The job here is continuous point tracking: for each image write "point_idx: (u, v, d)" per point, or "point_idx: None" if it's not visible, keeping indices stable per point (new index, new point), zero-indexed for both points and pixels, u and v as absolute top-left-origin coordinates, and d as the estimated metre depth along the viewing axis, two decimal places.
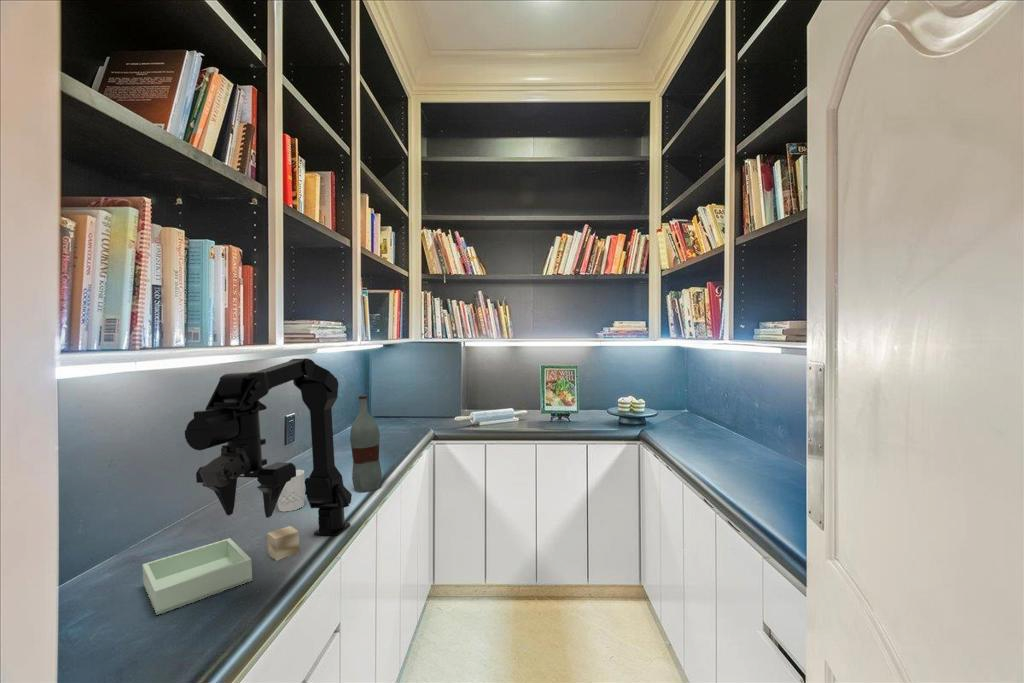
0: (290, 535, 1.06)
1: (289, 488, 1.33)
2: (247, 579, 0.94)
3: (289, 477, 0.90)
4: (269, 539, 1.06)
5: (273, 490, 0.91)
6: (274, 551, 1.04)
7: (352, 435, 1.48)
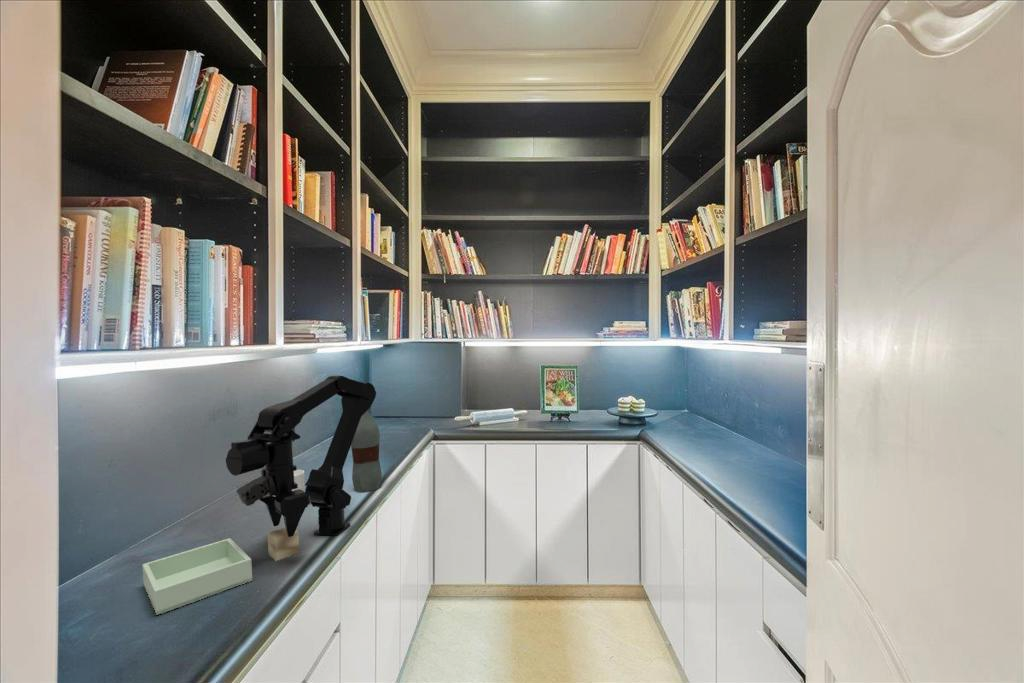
0: None
1: None
2: (247, 579, 0.94)
3: (299, 505, 1.01)
4: (269, 539, 1.06)
5: (292, 514, 1.03)
6: (274, 551, 1.04)
7: None
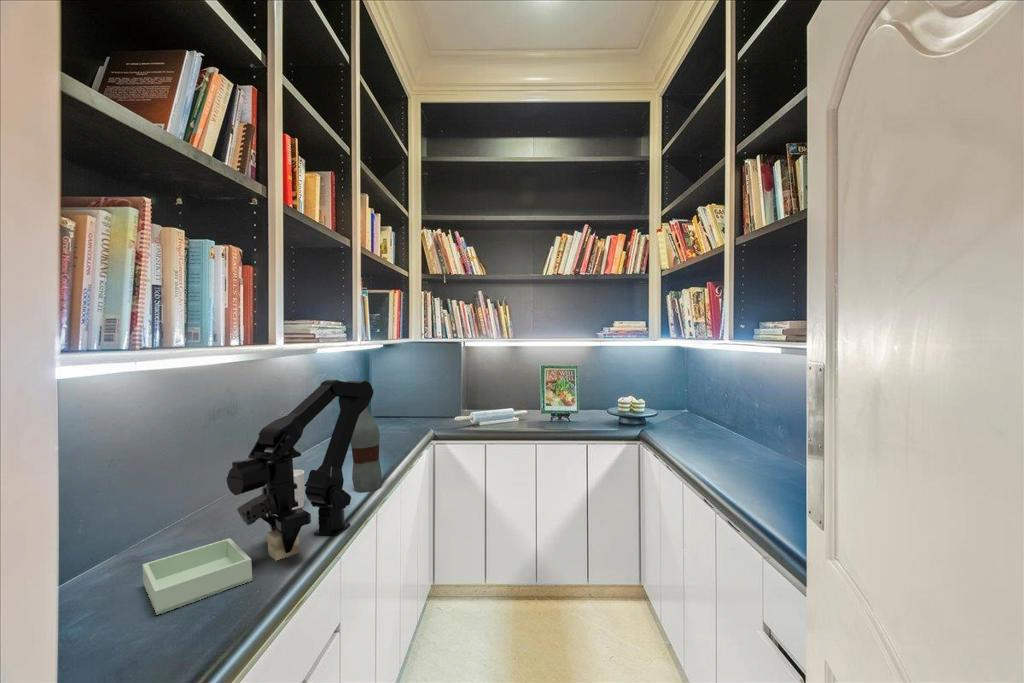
0: None
1: None
2: (247, 579, 0.94)
3: (300, 525, 1.01)
4: (269, 539, 1.06)
5: (290, 530, 1.04)
6: (274, 551, 1.04)
7: None
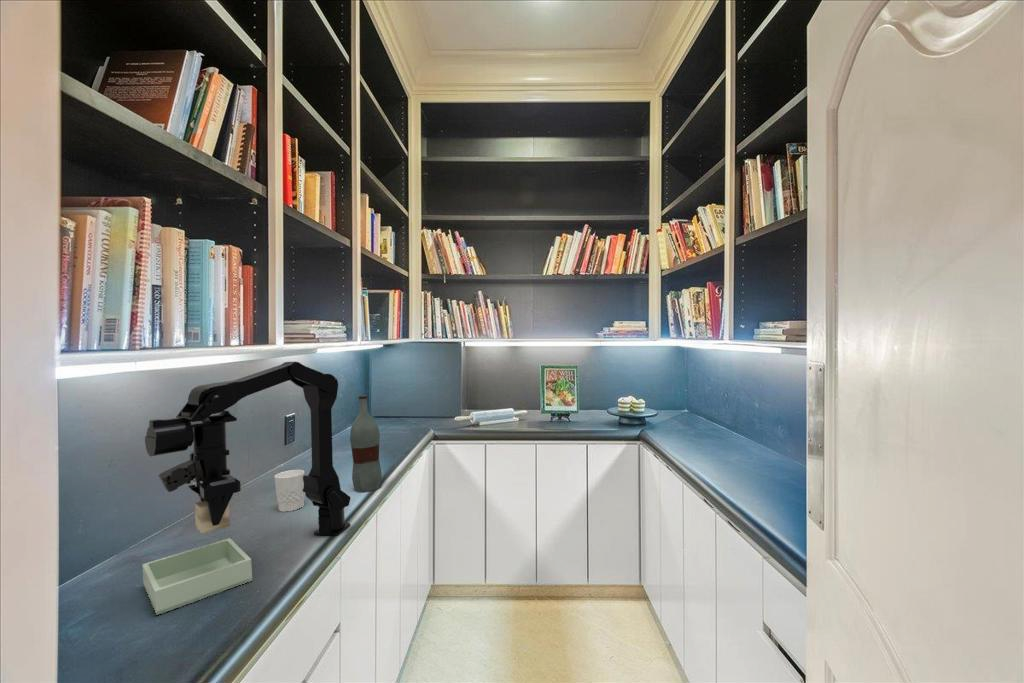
0: None
1: (289, 488, 1.33)
2: (247, 579, 0.94)
3: (227, 492, 0.91)
4: (196, 509, 0.96)
5: (218, 500, 0.94)
6: (200, 522, 0.94)
7: (352, 435, 1.48)
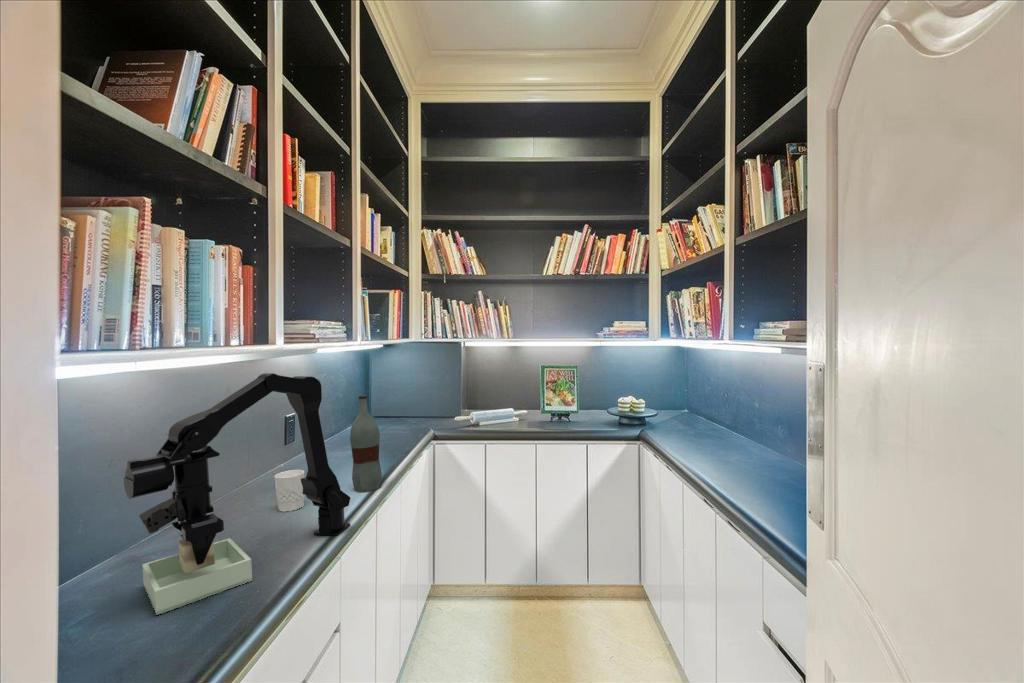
0: None
1: (289, 488, 1.33)
2: (247, 579, 0.94)
3: (209, 533, 0.89)
4: (180, 548, 0.94)
5: (201, 539, 0.92)
6: (183, 562, 0.92)
7: (352, 435, 1.48)
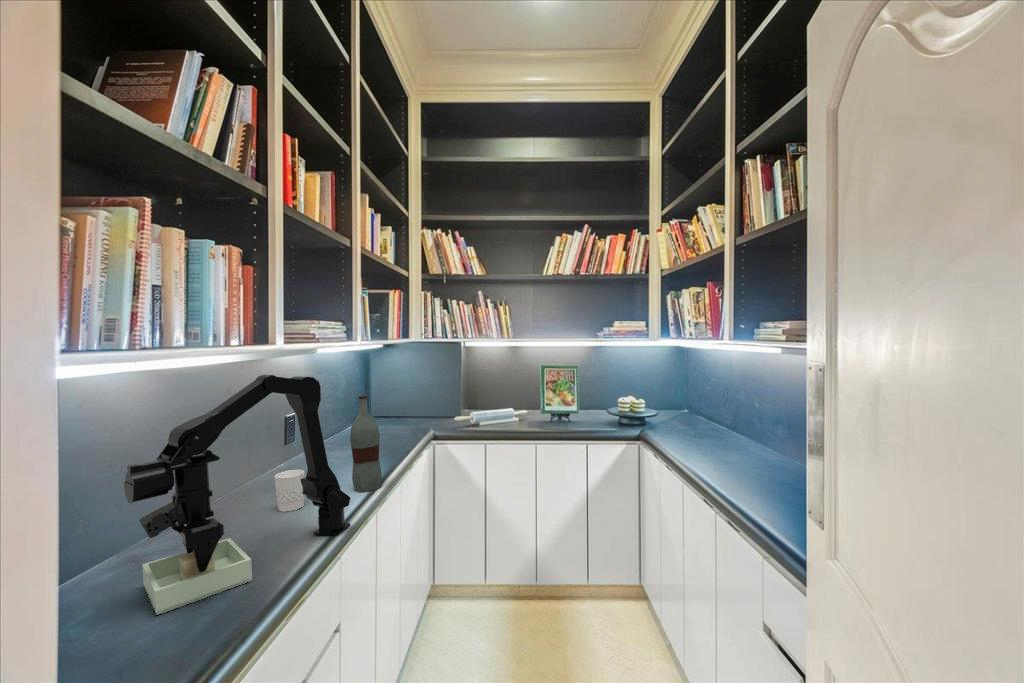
0: None
1: (289, 488, 1.33)
2: (247, 579, 0.94)
3: (209, 538, 0.89)
4: (180, 563, 0.94)
5: (204, 546, 0.91)
6: (184, 577, 0.92)
7: (352, 435, 1.48)
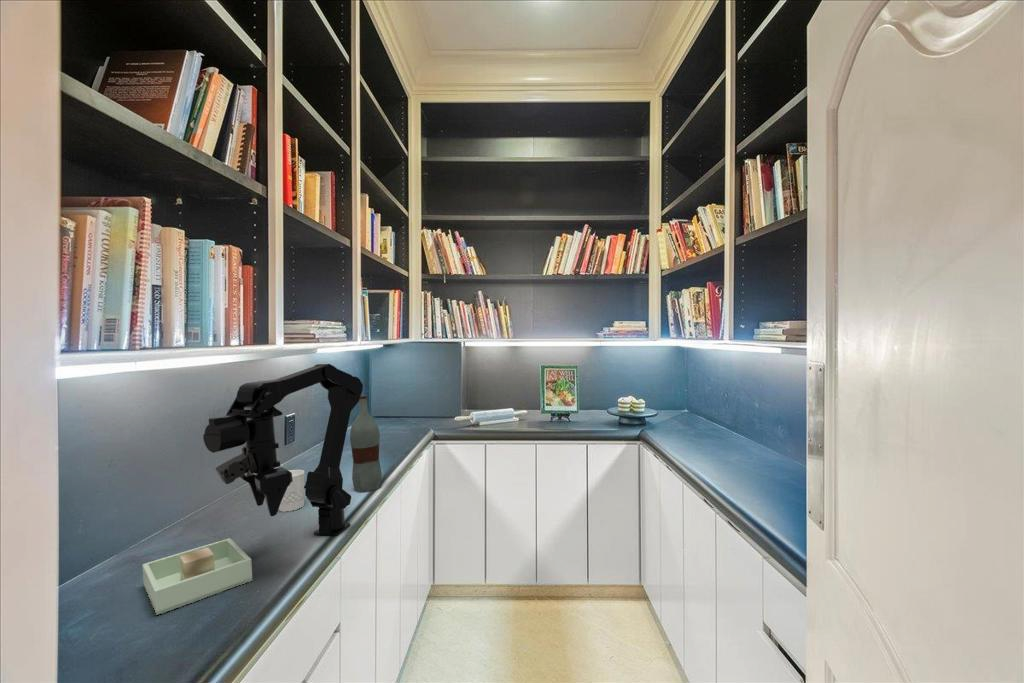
0: (203, 558, 0.94)
1: (289, 488, 1.33)
2: (247, 579, 0.94)
3: (280, 483, 0.96)
4: (180, 563, 0.94)
5: (274, 492, 0.99)
6: (184, 577, 0.92)
7: (352, 435, 1.48)
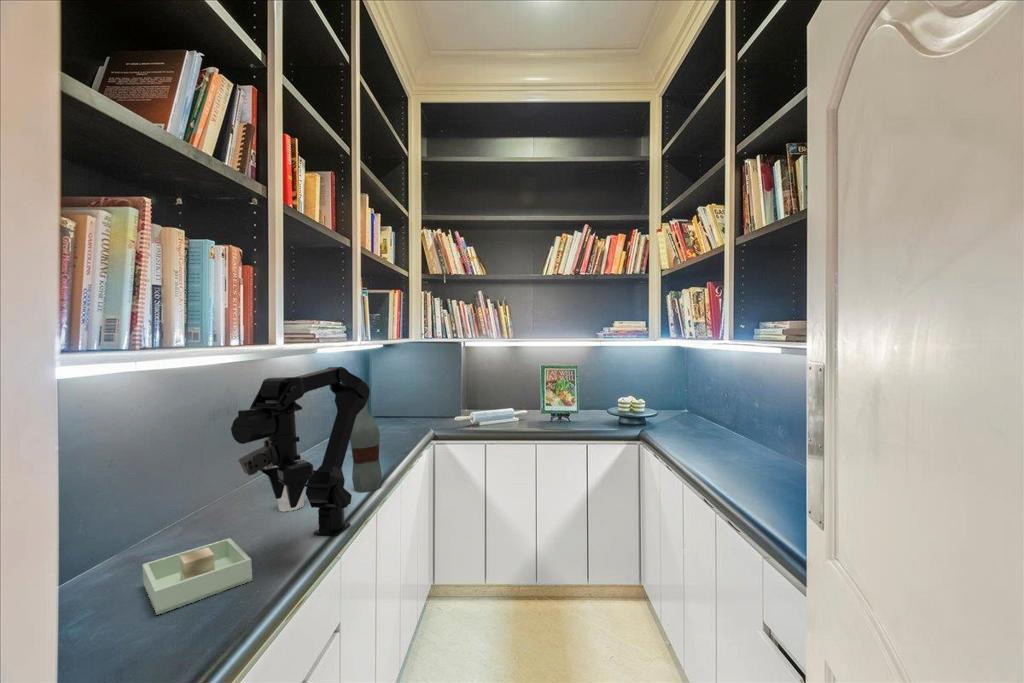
0: (203, 558, 0.94)
1: None
2: (247, 579, 0.94)
3: (302, 475, 0.99)
4: (180, 563, 0.94)
5: (295, 484, 1.01)
6: (184, 577, 0.92)
7: (352, 435, 1.48)
